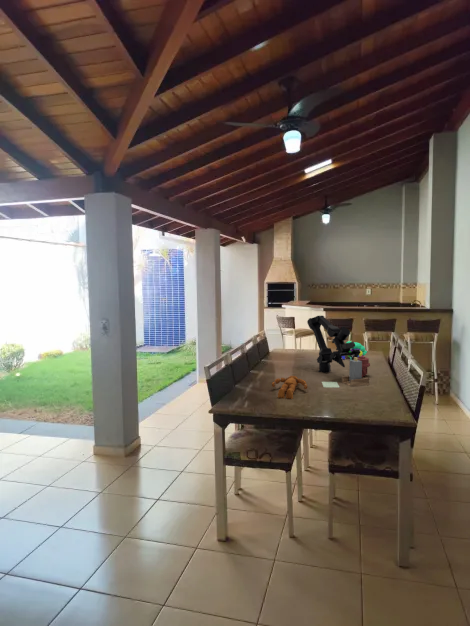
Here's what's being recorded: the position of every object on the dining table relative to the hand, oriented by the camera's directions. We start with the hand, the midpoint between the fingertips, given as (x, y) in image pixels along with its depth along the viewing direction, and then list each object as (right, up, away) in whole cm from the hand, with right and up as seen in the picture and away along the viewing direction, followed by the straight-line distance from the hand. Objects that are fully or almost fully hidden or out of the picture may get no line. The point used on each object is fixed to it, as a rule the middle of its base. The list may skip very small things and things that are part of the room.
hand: (350, 366), depth 247 cm
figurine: (+22, -3, +69) cm, 73 cm away
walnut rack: (+2, -10, -3) cm, 11 cm away
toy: (-38, -12, -15) cm, 43 cm away
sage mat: (-13, -10, -5) cm, 18 cm away
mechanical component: (+11, -8, +16) cm, 21 cm away
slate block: (+2, -9, -3) cm, 10 cm away
